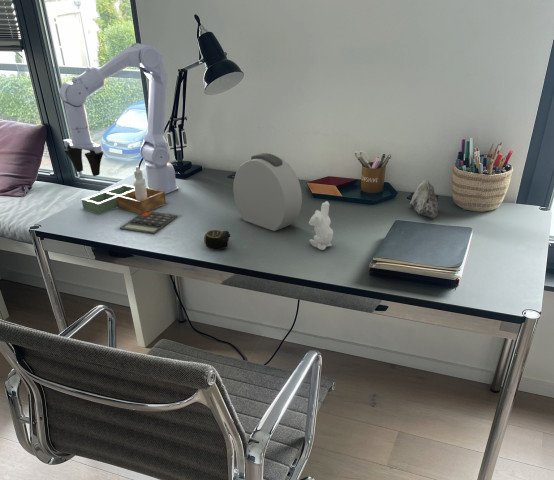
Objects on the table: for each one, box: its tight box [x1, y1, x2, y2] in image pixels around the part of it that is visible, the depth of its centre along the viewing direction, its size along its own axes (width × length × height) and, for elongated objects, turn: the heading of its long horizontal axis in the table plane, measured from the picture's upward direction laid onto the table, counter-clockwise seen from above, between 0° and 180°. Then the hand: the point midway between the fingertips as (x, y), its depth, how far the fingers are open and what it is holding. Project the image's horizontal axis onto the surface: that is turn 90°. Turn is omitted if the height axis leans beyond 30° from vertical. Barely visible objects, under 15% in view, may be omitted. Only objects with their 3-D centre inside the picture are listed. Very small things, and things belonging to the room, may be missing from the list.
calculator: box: [119, 211, 179, 235], centre depth 171 cm, size 12×1×15 cm
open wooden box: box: [117, 186, 167, 215], centre depth 181 cm, size 11×10×4 cm
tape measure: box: [203, 229, 231, 250], centre depth 155 cm, size 7×7×4 cm
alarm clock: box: [232, 152, 303, 232], centre depth 165 cm, size 21×8×20 cm, turn 47°
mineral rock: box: [409, 179, 439, 219], centre depth 173 cm, size 13×11×10 cm
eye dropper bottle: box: [133, 165, 148, 201], centre depth 178 cm, size 4×6×12 cm
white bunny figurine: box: [308, 200, 334, 251], centre depth 152 cm, size 8×7×12 cm
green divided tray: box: [81, 183, 135, 215], centre depth 183 cm, size 18×8×3 cm, turn 147°
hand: (88, 173), depth 176 cm, fingers open, 7 cm apart
